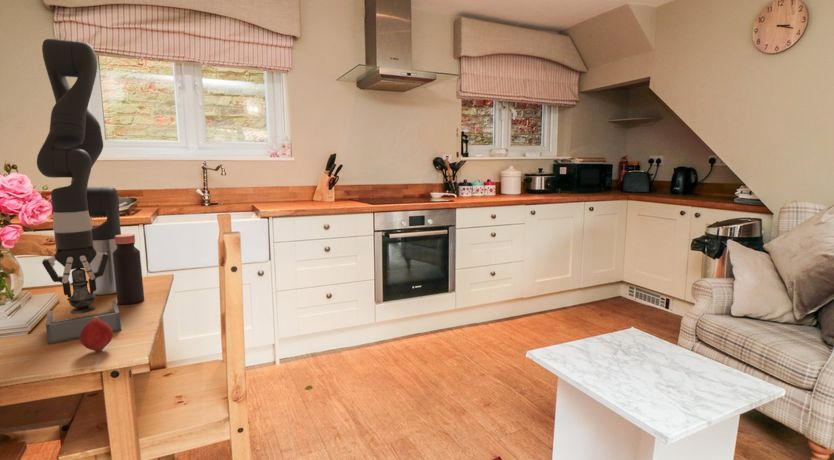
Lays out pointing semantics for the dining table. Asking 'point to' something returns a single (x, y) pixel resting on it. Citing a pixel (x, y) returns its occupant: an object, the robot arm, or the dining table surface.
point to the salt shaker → (80, 293)
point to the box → (78, 325)
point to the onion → (96, 335)
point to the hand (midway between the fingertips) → (80, 294)
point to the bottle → (127, 270)
